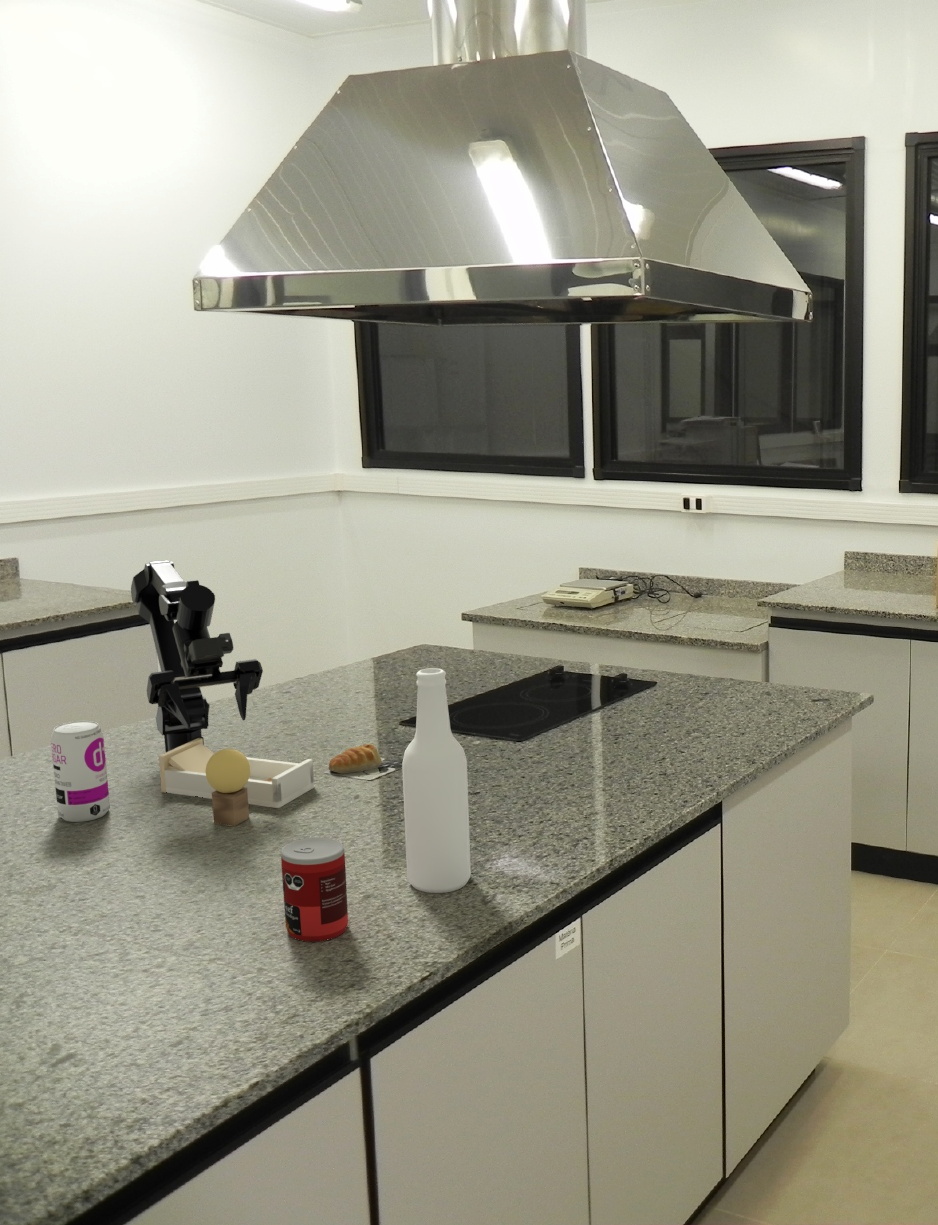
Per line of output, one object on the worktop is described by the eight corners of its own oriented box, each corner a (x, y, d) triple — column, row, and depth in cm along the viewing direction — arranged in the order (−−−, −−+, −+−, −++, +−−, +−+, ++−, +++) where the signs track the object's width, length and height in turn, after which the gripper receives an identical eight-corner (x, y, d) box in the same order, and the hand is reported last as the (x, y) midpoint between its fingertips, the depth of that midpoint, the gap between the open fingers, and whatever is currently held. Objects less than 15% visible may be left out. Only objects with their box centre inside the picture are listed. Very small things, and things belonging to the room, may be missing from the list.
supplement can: (120, 808, 203) (112, 721, 200) (89, 825, 195) (81, 735, 192) (79, 804, 206) (71, 718, 203) (47, 821, 198) (38, 732, 195)
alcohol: (406, 871, 173) (397, 665, 167) (468, 867, 174) (461, 662, 168) (408, 896, 164) (398, 680, 159) (473, 892, 165) (466, 677, 159)
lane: (161, 791, 210) (158, 755, 209) (200, 772, 220) (198, 738, 219) (278, 808, 200) (276, 770, 199) (314, 787, 210) (312, 751, 209)
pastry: (341, 778, 215) (340, 758, 214) (321, 770, 220) (319, 750, 219) (385, 766, 221) (384, 746, 220) (363, 759, 226) (362, 739, 225)
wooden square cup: (213, 823, 194) (211, 792, 193) (228, 814, 198) (226, 784, 197) (234, 826, 193) (232, 795, 192) (249, 817, 196) (247, 787, 195)
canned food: (287, 918, 159) (282, 838, 157) (349, 914, 159) (344, 835, 157) (283, 945, 151) (278, 861, 149) (348, 941, 152) (343, 857, 150)
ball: (198, 796, 193) (194, 754, 191) (224, 782, 199) (221, 741, 198) (234, 801, 190) (231, 758, 189) (260, 787, 196) (257, 745, 195)
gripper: (144, 625, 198) (164, 704, 190) (255, 612, 206) (279, 687, 198) (138, 664, 206) (158, 742, 198) (245, 650, 214) (268, 724, 206)
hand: (217, 723), depth 200 cm, fingers open, 9 cm apart
